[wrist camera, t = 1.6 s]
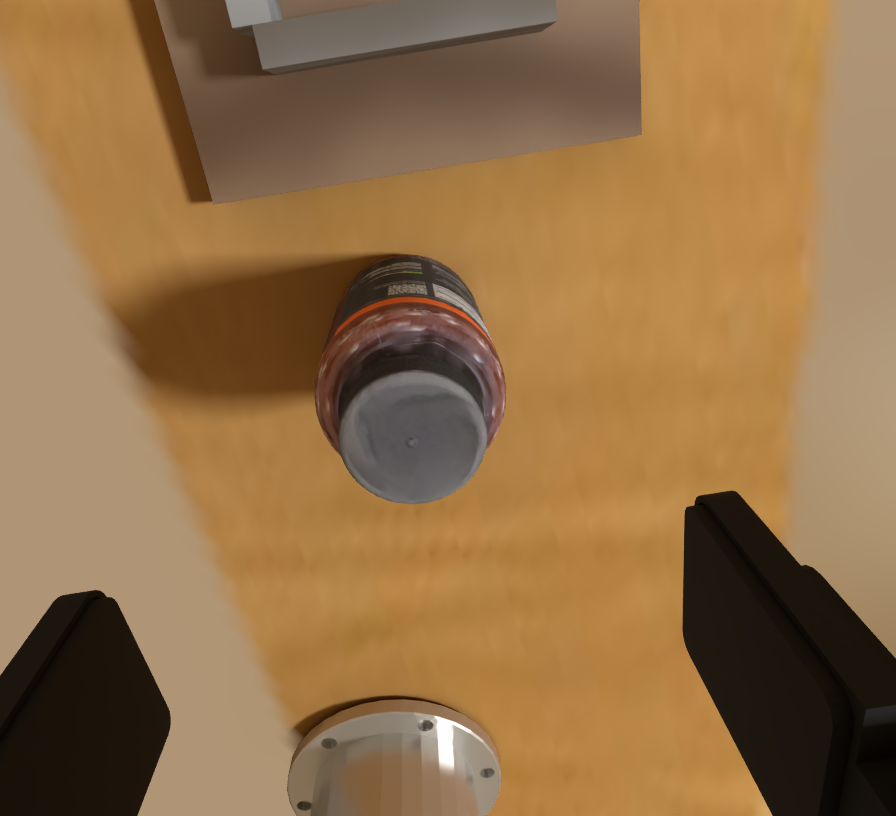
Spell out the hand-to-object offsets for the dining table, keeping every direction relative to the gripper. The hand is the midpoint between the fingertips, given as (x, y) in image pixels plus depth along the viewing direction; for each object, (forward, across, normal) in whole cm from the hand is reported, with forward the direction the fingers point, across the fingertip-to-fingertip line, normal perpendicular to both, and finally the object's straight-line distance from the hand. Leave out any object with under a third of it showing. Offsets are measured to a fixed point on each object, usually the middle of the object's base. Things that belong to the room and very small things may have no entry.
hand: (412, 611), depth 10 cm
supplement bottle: (+18, 0, +1) cm, 18 cm away
